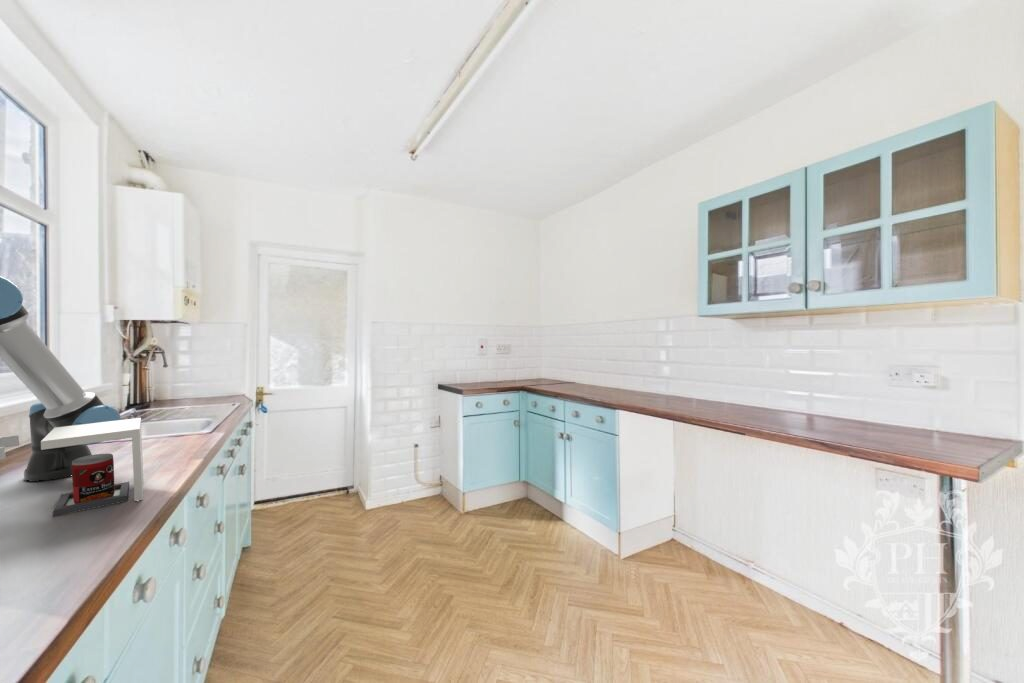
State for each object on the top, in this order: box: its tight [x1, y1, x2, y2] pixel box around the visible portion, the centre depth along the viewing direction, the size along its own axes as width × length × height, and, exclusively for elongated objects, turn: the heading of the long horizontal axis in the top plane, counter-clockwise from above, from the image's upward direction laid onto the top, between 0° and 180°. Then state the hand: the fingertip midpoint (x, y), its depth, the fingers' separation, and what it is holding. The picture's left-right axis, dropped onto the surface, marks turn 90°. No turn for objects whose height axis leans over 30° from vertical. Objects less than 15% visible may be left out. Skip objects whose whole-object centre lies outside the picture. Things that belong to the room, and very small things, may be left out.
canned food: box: [71, 453, 115, 504], centre depth 107 cm, size 8×8×11 cm
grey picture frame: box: [52, 481, 130, 517], centre depth 107 cm, size 13×13×2 cm
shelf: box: [41, 417, 144, 502], centre depth 108 cm, size 17×18×19 cm
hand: (12, 446), depth 99 cm, fingers open, 13 cm apart
